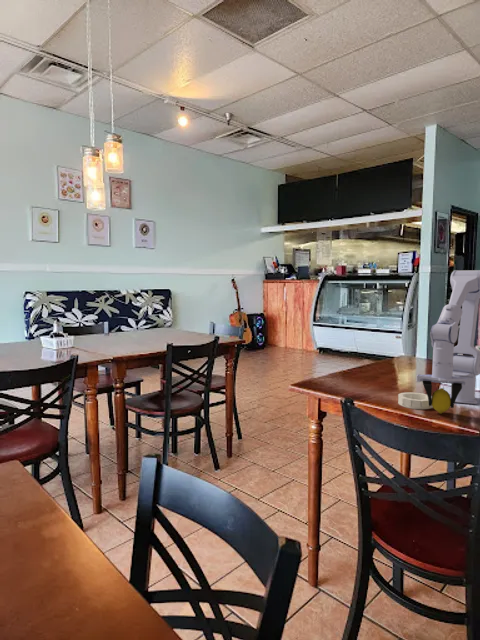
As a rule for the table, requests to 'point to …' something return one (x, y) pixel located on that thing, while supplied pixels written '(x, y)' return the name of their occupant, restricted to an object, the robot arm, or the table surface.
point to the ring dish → (414, 400)
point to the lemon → (441, 400)
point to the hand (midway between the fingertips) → (440, 406)
